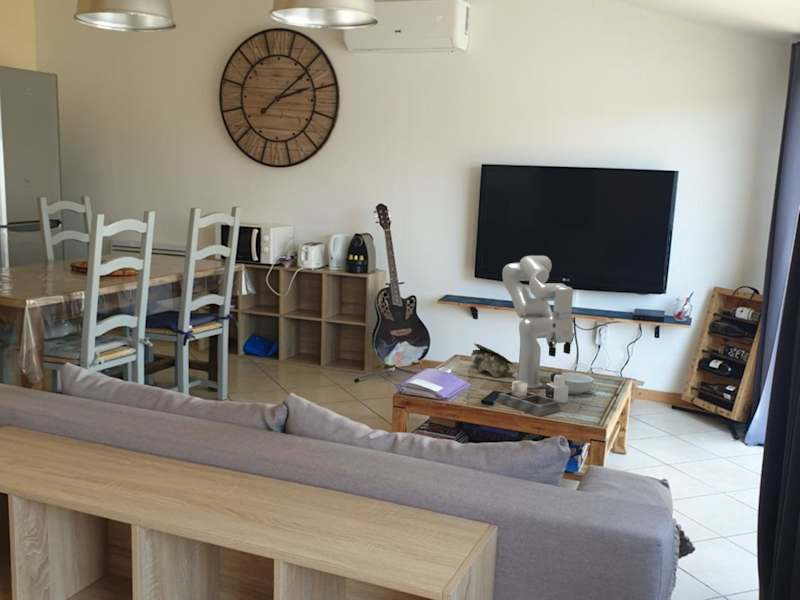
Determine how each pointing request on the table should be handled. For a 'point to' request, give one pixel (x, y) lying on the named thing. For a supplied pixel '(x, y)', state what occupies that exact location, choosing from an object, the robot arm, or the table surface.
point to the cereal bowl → (577, 382)
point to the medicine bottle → (557, 388)
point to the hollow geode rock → (490, 361)
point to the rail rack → (528, 400)
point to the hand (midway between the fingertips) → (559, 354)
